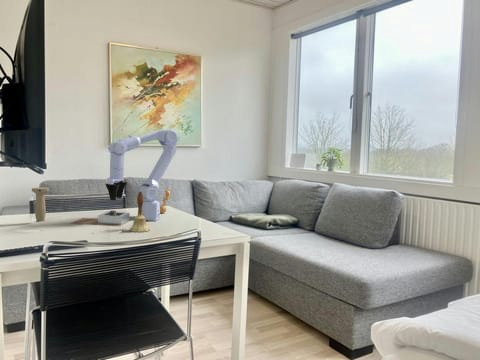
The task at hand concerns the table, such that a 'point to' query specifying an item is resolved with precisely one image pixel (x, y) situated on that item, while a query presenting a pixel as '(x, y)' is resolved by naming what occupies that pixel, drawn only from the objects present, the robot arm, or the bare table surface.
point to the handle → (40, 203)
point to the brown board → (94, 221)
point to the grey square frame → (113, 218)
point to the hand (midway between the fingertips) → (116, 199)
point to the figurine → (163, 208)
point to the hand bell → (139, 217)
